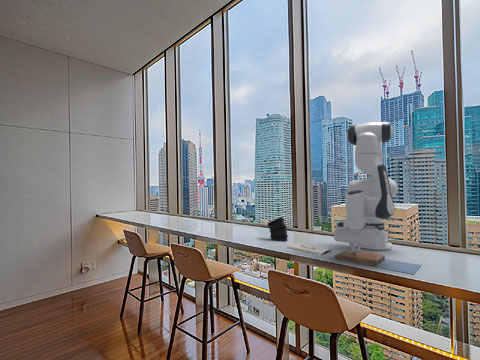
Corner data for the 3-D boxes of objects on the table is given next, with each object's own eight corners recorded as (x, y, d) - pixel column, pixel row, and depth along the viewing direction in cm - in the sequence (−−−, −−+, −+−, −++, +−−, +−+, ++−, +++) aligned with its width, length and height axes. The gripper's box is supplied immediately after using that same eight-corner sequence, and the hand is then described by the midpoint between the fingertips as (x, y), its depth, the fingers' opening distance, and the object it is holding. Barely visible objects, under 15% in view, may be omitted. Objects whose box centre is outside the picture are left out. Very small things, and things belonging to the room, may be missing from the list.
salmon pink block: (356, 256, 126) (356, 252, 126) (361, 254, 130) (361, 250, 130) (376, 260, 120) (376, 256, 120) (381, 257, 124) (381, 253, 124)
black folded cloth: (289, 239, 168) (280, 217, 172) (273, 246, 175) (264, 224, 179) (292, 238, 171) (283, 216, 175) (276, 245, 178) (267, 223, 182)
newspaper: (333, 252, 145) (333, 247, 145) (321, 258, 137) (321, 253, 137) (298, 245, 162) (298, 240, 162) (285, 250, 154) (285, 246, 154)
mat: (386, 259, 128) (386, 259, 128) (421, 265, 118) (421, 265, 118) (375, 267, 116) (375, 266, 116) (413, 274, 107) (413, 273, 107)
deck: (346, 253, 140) (346, 249, 140) (384, 260, 128) (384, 255, 128) (335, 258, 130) (335, 254, 130) (375, 266, 117) (375, 261, 117)
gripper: (380, 225, 124) (381, 255, 124) (338, 221, 139) (338, 248, 138) (376, 227, 120) (376, 258, 120) (332, 222, 134) (332, 250, 134)
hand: (355, 253), depth 129 cm, fingers closed
